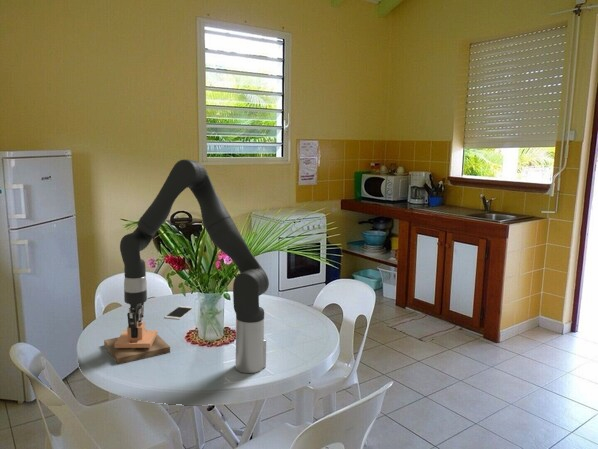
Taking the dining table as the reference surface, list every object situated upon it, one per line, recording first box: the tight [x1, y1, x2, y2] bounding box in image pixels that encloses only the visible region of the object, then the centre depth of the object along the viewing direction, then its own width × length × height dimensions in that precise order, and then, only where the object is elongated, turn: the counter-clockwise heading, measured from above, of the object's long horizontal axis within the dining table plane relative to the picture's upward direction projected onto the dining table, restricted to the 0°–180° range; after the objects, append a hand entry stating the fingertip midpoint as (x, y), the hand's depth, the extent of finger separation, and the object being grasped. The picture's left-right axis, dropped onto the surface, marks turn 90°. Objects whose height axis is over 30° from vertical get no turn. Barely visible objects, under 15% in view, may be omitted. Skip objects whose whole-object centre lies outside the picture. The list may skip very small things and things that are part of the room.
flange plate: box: [114, 321, 158, 348], centre depth 169 cm, size 12×12×6 cm
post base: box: [103, 333, 171, 365], centre depth 169 cm, size 18×18×6 cm
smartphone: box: [164, 305, 195, 321], centre depth 208 cm, size 7×15×1 cm, turn 169°
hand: (136, 334), depth 169 cm, fingers closed on flange plate, 5 cm apart
